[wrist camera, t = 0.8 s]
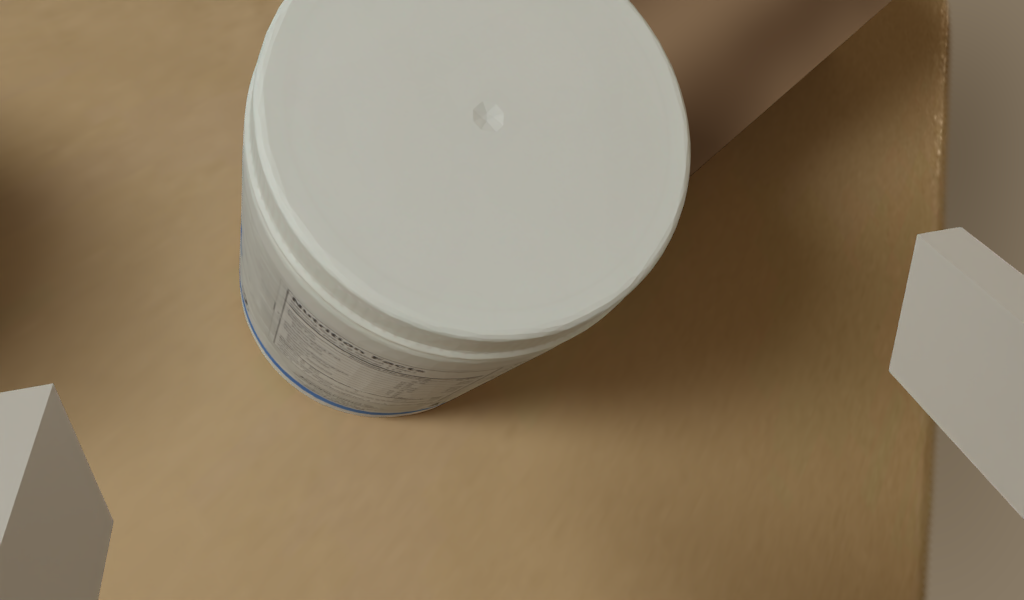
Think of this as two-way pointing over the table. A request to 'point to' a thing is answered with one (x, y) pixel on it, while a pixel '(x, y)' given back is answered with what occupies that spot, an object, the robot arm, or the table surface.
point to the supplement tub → (450, 188)
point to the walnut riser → (745, 55)
